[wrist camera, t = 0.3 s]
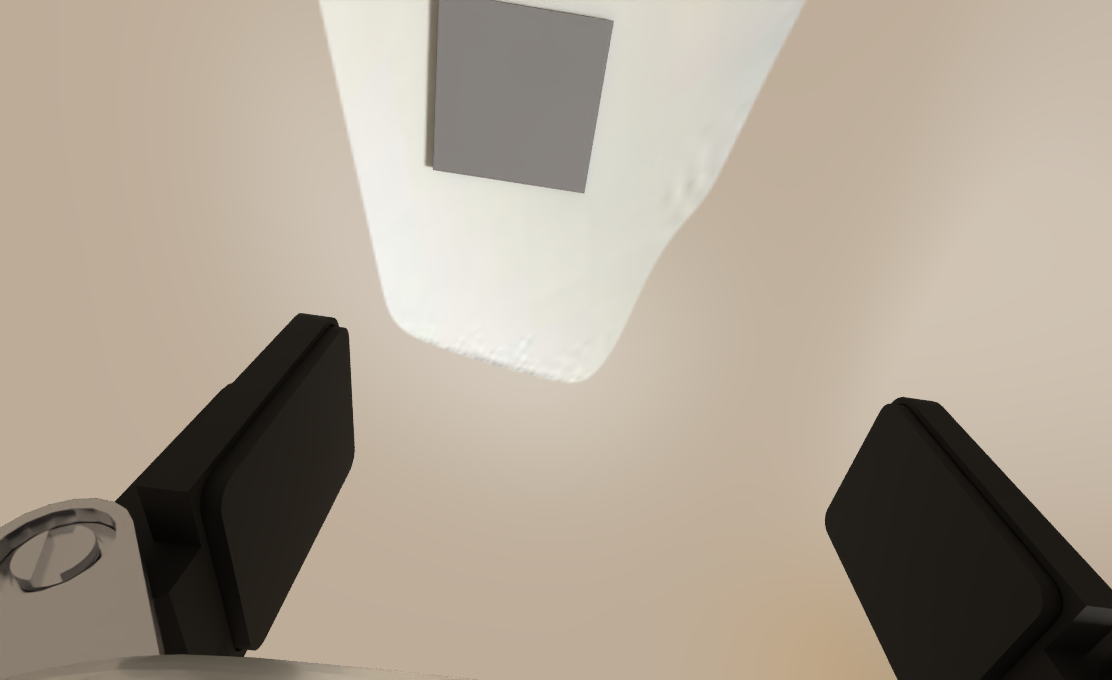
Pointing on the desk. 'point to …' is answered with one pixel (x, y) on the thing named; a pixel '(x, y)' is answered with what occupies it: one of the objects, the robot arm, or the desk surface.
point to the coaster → (517, 92)
